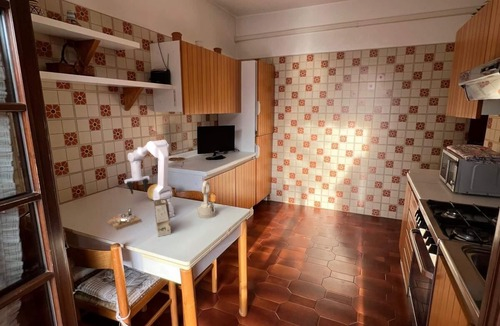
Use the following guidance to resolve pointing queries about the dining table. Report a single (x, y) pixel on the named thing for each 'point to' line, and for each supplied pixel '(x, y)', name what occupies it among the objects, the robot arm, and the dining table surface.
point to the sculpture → (151, 191)
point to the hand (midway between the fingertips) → (138, 192)
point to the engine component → (206, 203)
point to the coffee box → (162, 217)
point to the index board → (124, 224)
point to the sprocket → (124, 217)
